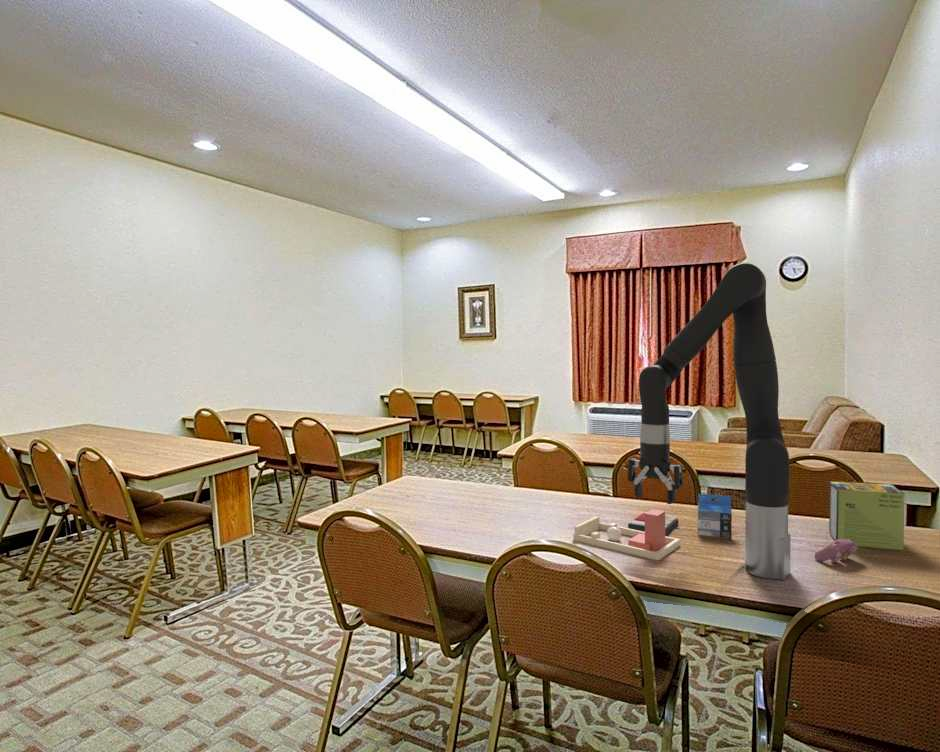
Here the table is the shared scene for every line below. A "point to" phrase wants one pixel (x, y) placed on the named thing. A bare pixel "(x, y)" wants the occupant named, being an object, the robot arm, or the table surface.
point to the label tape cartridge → (715, 516)
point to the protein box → (867, 514)
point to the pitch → (595, 525)
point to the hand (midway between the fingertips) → (654, 500)
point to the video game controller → (836, 550)
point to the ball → (614, 533)
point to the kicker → (651, 532)
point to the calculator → (640, 524)
